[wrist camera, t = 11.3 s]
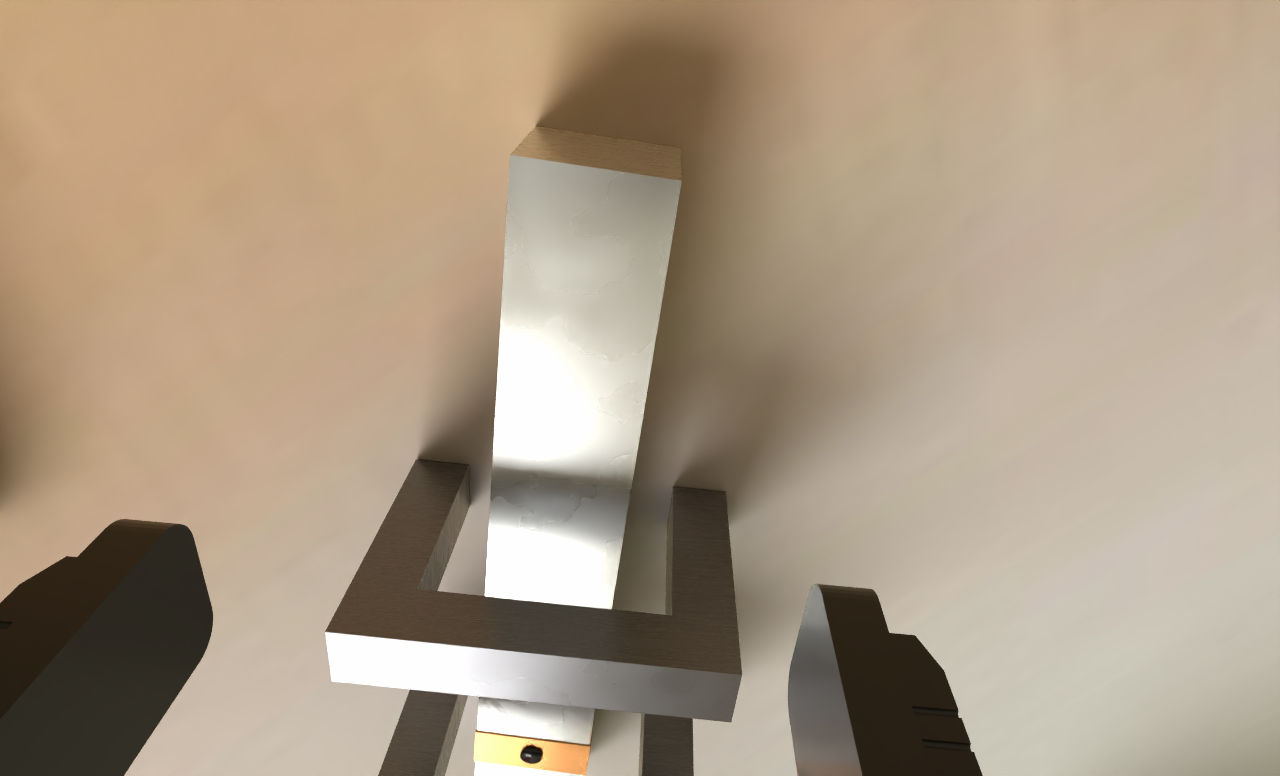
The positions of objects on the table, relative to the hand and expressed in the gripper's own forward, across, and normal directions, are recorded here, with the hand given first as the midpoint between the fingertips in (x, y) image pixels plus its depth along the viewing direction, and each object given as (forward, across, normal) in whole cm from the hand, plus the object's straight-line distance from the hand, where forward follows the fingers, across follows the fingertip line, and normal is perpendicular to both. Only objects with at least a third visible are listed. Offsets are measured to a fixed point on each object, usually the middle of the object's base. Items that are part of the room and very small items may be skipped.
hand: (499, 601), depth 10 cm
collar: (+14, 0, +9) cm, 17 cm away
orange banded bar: (+14, +1, +10) cm, 18 cm away
